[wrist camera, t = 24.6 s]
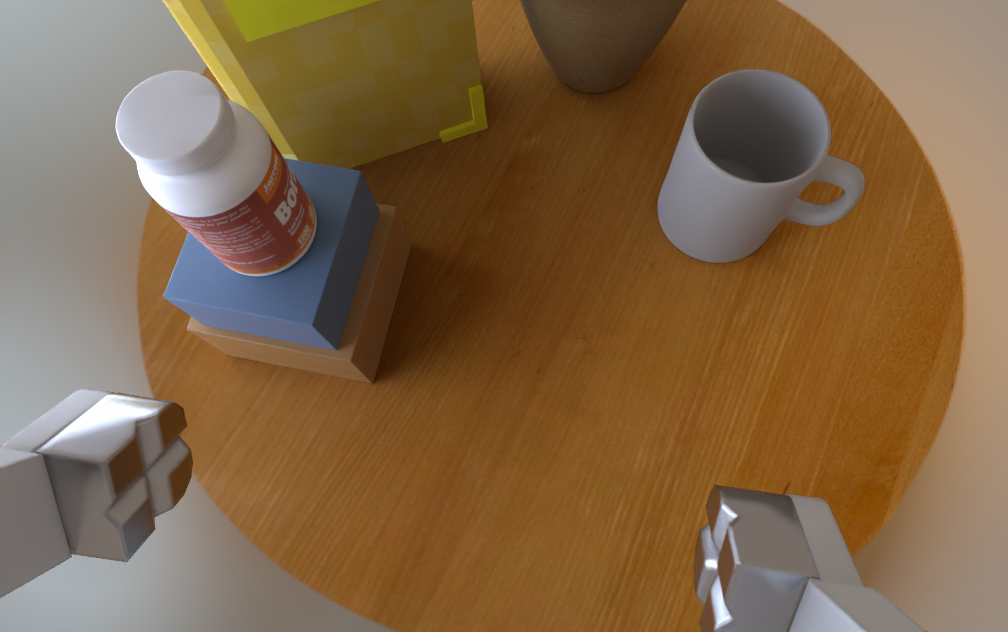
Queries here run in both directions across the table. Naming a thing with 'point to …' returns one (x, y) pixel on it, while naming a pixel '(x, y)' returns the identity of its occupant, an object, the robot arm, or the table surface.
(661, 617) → the table surface
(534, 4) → the plant pot
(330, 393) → the table surface
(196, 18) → the book
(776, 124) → the mug
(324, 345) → the box stack
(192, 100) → the pill bottle
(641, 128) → the table surface
